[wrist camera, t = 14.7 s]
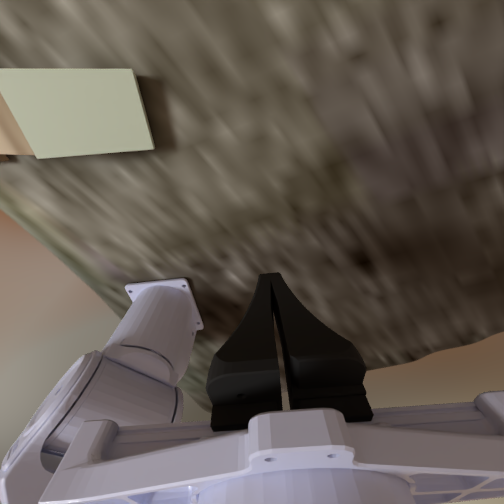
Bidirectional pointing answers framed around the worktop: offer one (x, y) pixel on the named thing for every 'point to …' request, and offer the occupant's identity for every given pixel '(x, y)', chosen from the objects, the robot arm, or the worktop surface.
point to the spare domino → (77, 110)
